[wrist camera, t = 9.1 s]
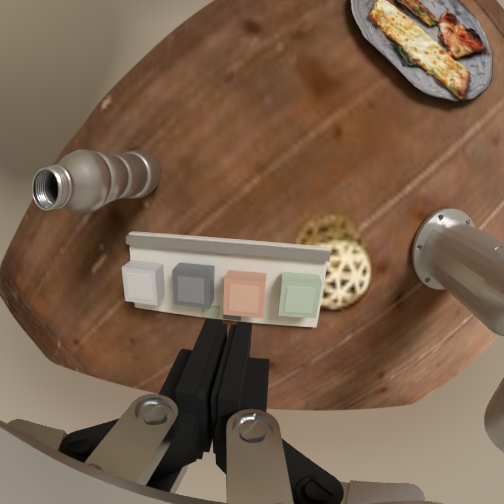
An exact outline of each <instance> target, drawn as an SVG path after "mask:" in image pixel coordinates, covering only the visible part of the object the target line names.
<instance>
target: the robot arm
mask: <svg viewBox="0 0 504 504" xmlns="http://www.w3.org/2000/svg"><path fill="white" fill-rule="evenodd" d="M418 245H419V246H418ZM412 263H413V267H414V270H415V272H416V275H417V276H418V278H419V279H420V280H421V281H422V282H423V283H424V284H425V285H427V286H428V287H430V288H433V289H438V290H443V289H446V290H447V291H449V292H450V293H451V294H452V295H453V296H454V297H455V298H456V299H458V300H459V301H460V302H461V303H462V304H463V305H464V306H465V307H466V308H467V309H468V310H469V311H471V312H472V313H473V314H474V315H475V316H476V317H477V318H478V319H479V320H480V321H481V322H482V323H483V324H484V325H485V326H486V327H487V328H488V329H490V330H491V331H492V332H494V333H496V334H498V335H502V336H504V241H503V240H501V239H499V238H497V237H495V236H492V235H490V234H488V233H486V232H484V231H481V230H479V229H477V228H475V225H474V223H473V222H472V220H471V219H470V218H469V216H468V215H467V214H465V213H464V212H462V211H460V210H457V209H453V208H444V209H440V210H438V211H436V212H434V213H432V214H431V215H430V216H429V217H428V218H426V220H425V221H424V222H423V223H422V225H421V226H420V228H419V230H418V231H417V234H416V236H415V239H414V243H413V247H412ZM251 333H252V323H246V322H237V324H236V325H231V327H230V330H229V334H228V337H227V324H222V320H218V319H210V318H207V319H206V321H205V323H204V325H203V328H202V330H201V332H200V334H199V337H198V339H197V341H196V344H195V346H194V348H193V350H187V349H181V350H180V352H179V354H178V356H177V358H176V360H175V362H174V364H173V366H172V368H171V370H170V372H169V374H168V376H167V378H166V381H165V383H164V385H163V387H162V389H161V391H160V393H159V394H148V395H144V396H141V397H139V398H137V399H136V400H135V401H134V402H133V403H132V404H131V405H130V407H129V408H128V409H127V410H126V411H125V413H124V414H123V415H122V417H121V418H119V419H116V420H113V421H110V422H107V423H103V424H100V425H96V426H93V427H90V428H86V429H82V430H79V431H75V432H72V433H70V434H66V432H65V431H64V430H59V429H55V428H51V427H47V426H43V425H40V424H36V423H32V422H29V421H26V420H21V419H16V420H12V421H10V422H9V423H8V424H7V423H5V422H3V421H0V504H442V503H437V502H430V501H425V498H424V494H423V492H422V490H421V489H420V488H419V487H417V486H416V485H414V484H409V483H380V482H364V481H353V480H351V481H350V482H349V483H347V482H346V483H345V482H340V481H338V480H337V479H336V478H335V477H334V476H332V475H331V474H329V473H328V472H327V471H325V470H323V469H322V468H321V467H319V466H318V465H316V464H315V463H314V462H312V461H311V460H310V459H308V458H307V457H305V456H304V455H303V454H301V453H300V452H299V451H297V450H296V449H295V448H293V447H292V446H291V445H290V444H288V443H287V442H286V441H285V440H283V439H282V438H281V433H280V427H279V424H278V422H277V420H276V419H275V418H274V417H273V416H272V415H270V414H269V413H267V412H266V407H267V392H268V375H269V359H261V358H250V346H251ZM484 425H485V430H486V432H487V434H488V436H489V438H490V439H491V441H492V442H493V443H494V444H495V446H496V447H498V448H499V449H500V450H501V451H502V452H504V378H503V380H502V381H501V383H500V385H499V386H498V388H497V390H496V391H495V393H494V395H493V396H492V398H491V400H490V402H489V404H488V406H487V408H486V412H485V416H484ZM212 439H213V453H215V454H216V464H217V466H218V467H219V468H220V469H221V470H222V471H223V472H224V473H225V474H226V486H227V503H221V502H215V501H208V500H203V499H198V498H192V497H188V496H183V495H178V494H175V492H176V490H177V488H178V486H179V484H180V482H181V481H182V479H183V477H184V475H185V473H186V471H187V467H188V464H190V463H193V462H195V461H196V460H197V459H202V456H203V452H209V451H210V447H211V443H212Z"/></svg>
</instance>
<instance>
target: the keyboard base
mask: <svg viewBox="0 0 504 504" xmlns="http://www.w3.org/2000/svg"><path fill="white" fill-rule="evenodd" d="M126 244H128V245H130V261H131V260H136V261H145V262H154V263H163V266H164V286H165V297H164V298H163V300H162V301H161V302H160V303H159V305H158V306H155V305H148V304H142V303H136V302H134V303H135V307H137V308H143V309H149V310H155V311H162V312H168V313H175V314H182V315H190V316H198V317H206V318H214V319H223V320H232V321H241V322H251V323H262V324H274V325H287V326H302V327H316V326H317V321H318V316H319V310H320V305H321V299H322V293H323V287H324V281H325V275H326V268H327V262H329V259H330V251H329V248H328V247H322V246H311V245H299V244H288V243H276V242H264V241H252V240H239V239H227V238H214V237H201V236H188V235H175V234H161V233H147V232H133V231H132V232H130V233H129V235H127V236H126ZM179 262H180V263H190V264H201V265H211V266H215V272H214V300H213V303H212V305H211V307H210V309H205V308H197V307H189V306H181V305H174V300H173V279H172V270H173V269H174V268H175V266H176V265H177V264H178V263H179ZM228 270H236V271H247V272H259V273H267V274H266V285H265V297H264V308H263V318H254V317H244V316H234V315H224V314H223V306H224V278H225V276H226V273H227V271H228ZM282 272H292V273H305V274H317V275H319V276H320V279H321V282H322V287H321V293H320V299H319V305H318V310H317V316H316V318H303V317H289V316H278V303H279V294H280V285H281V275H282Z"/></svg>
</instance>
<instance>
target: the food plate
mask: <svg viewBox="0 0 504 504" xmlns="http://www.w3.org/2000/svg"><path fill="white" fill-rule="evenodd" d="M396 1H397V2H398V3H399V4H400V5H402V7H403V8H404V9H405V10H403V11H404V12H407V14H408V15H409V16H407V15H405V14H403V13H402V12H401V11H399V10H398V9H397V8H396V7H394V6H393V5H392V4H390V3H389V2H388V1H385V0H351V8H352V12H353V16H354V19H355V20H356V23H357V25H358V26H359V28H360V30H361V32H362V34H363V36H364V37H365V38H366V40H369V42H370V43H371V44H372V45H373V46H374V47H375V48H376V49H378V50H379V51H380V53H382V54H383V56H384V57H386V58H387V59H388V60H389V61H390V62H391V63H392V64H393V65H394V66H395V67H396V68H397V69H398V70H399V71H400V72H401V73H402V74H403V75H404V76H405V77H406V78H407V79H408V80H409V81H410V83H413V84H412V85H413V86H415V87H416V88H417V89H419V90H420V91H421V92H422V93H424V94H427V95H428V96H431V97H434V98H438V99H444V100H448V101H452V102H456V103H459V102H462V101H470V100H474V99H475V98H476V97H478V96H480V95H481V94H482V93H483V92H484V91H485V90H486V89H487V88H488V86H489V85H490V82H491V81H492V76H493V53H492V50H491V47H490V45H489V43H488V41H487V37H486V34H485V33H484V31H483V30H482V27H481V26H480V24H479V21H478V20H477V19H476V17H475V16H473V14H472V13H471V12H470V11H469V10H468V9H467V7H466V6H465V5H463V3H462V2H461V1H460V0H429V1H430V2H431V1H432V2H433V4H434V5H433V4H432V3H431V4H430V2H429V1H427V0H425V1H424V0H423V1H424V3H423V2H422V0H396ZM437 2H438V3H437ZM433 6H435V8H434V7H433ZM439 9H440V10H439ZM442 44H443V45H444V46H445V48H444V47H443V46H442Z"/></svg>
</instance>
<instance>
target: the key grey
mask: <svg viewBox="0 0 504 504" xmlns="http://www.w3.org/2000/svg"><path fill="white" fill-rule="evenodd" d="M122 275H123V284H124V293H125V301H130V302H136V303H142V304H148V305H155V306H158V305H159V303H160V302H161V301H162V300H163V298H164V297H165V286H164V266H163V263H154V262H145V261H136V260H131V261H130V262H128V263H127V264H125V265H124V266H123V267H122Z"/></svg>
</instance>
